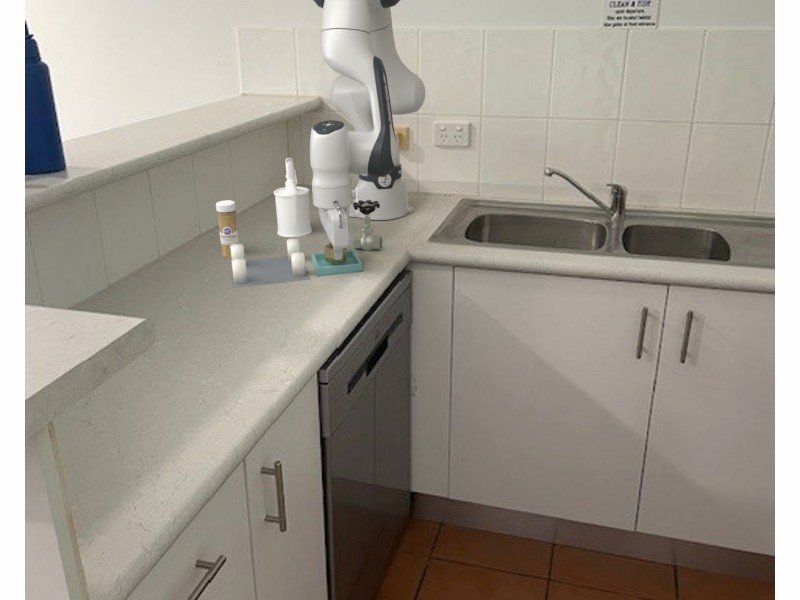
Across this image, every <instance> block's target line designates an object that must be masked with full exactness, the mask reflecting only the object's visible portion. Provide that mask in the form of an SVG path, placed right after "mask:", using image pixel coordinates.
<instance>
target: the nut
mask: <svg viewBox="0 0 800 600" xmlns="http://www.w3.org/2000/svg"><path fill="white" fill-rule="evenodd" d="M333 251H334V249H333V245H332V243H329V242H328V243H327V244H326V245H324V253H325V262H328V263H331V264H338V263H344V262H345V261H346V260H347V251H348V250H347V248H343V250H342V259H341V260H335V259H334V254H333Z"/></svg>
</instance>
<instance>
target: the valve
mask: <svg viewBox="0 0 800 600" xmlns="http://www.w3.org/2000/svg"><path fill="white" fill-rule="evenodd" d="M376 206H377V208H380V204H379V203H378V201H374V202H371V200H367V201H362V200H359V201H358V203H357V202H354V203H353V207H354V209H355V210H358V208H359V210H360V212H361V213H363V214H365V217H364V218H362V223H363V224H364V225H363V226H362V227H361V228H360V229H361V233H362V234H355V233H354V236H353V239H352V245H353V249H354V250H355V249H356V250H363V251H368V252H369V251H372V250H375V251H381V250H382V248H383V236H382V235H379V234H377V235H376V234H374V235H373V233H374V227H373V226H372V225H371V223H372V221H371V218H370V217H369V214H371V212H374V211H375V209H376Z"/></svg>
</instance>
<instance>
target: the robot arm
mask: <svg viewBox="0 0 800 600" xmlns="http://www.w3.org/2000/svg"><path fill="white" fill-rule="evenodd" d="M400 1H401V0H313V2H314V3H315V4H316V6H317V7H319V8H322V16H321V24H320V25H321V28H320V45H321V46H320V47H321V48H320V49H321V55H322V57H323V60H324V61H325V64H326V65H328V67H329V68H330V69H332V70H333V71H334V72H336V73H338V74H339V75H338V76H337V77H336V78H335V79H334V81H333V82H332V83H331V84H332V85H331V87H330V98H331V99H330V100H331V102H332V105H333V106H334V108H335V110H337V111H338V112H339V113H341V114H342V115H343V116H344V117H345V118H346V119H347V120H348V121H349V122H350V124H351V126H352V127H353V129H354V130H347V127H346V126H347V125H346V124H345V123H344V122H342V121H340V120H335V119H334V120H333V119H331V120H330V119H329V120H323V121H319V122H317V123H315V124H314V125H313V126H312V127H311V131H310V140H309V141H310V142H309V162H310V168H311V171H312V180H311V191H312V204H313V206H314V207H316V208H317V209H318V213H319V219H320V222H321V225H322V228H323V229H324V231H325V233H326V235H327V238H328V243H332V245H333V249H334V251H333V254H334V259H335V260H341V259H342V250H343V248H346V249H347V248H349V247H350V243H351V241H350V240H351V239H350V229H349V227H350V226H349V220H348V216H349V218H360V219H363V218H364V217H365V214H363V213H361V212H360V210H359V208H358V210H355V209H354V207H353V203H354V202H357V203H358V201H359V200H362V201H367V200H371V202H374V201H378V203H379V204H380V208H377V206H376V209H375V211H374V212H371V214H369V217H370V218H371V220H373V221H384V220H385V221H388V220H394V219H399V218H402V217H405V216H406V215H407V214H410V213H412V212H414V207H413V206H411V205H409V200H408V186H407V183H406V182H405V181H404V180H403V179H402V171H403V170H402V164H401V163H400V160H401V159H400V139H399V136H398V134H397V133H396V132H395V127H394V121H393V119H394V118H393V116H395V115H396V116H398V115H400V116H401V115H407V114H412V113H417V112H418V111H419V110H421V108H422V106H423V105H424V102H425V99H426V87H425V84H424V82H423V81H422V79H421V77H419V75H417V74H416V73H414V72H412V70H410V69H409V68H408V67H407V65H405V64H404V62H403V61H402V59H401V58H400V56H399V54H398V52H397V47H396V43H395V39H394V31H393V30H394V29H393V20H392V18H393V17H392V12H391V8H393V7H395V6H396V5H397V4H399V2H400ZM351 175H358V178H359V179H358V181H357V183H356V186H355V188H354V189H353V185H352V177H351ZM353 198H354V199H353ZM348 207H349V211H348ZM347 212H348V214H347Z"/></svg>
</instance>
